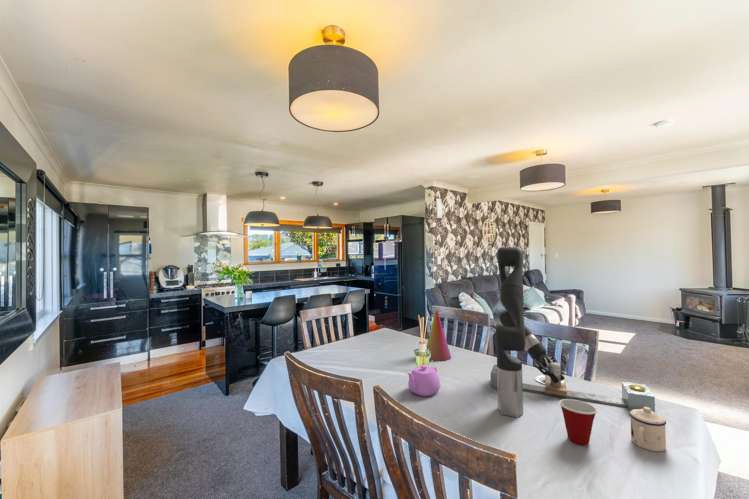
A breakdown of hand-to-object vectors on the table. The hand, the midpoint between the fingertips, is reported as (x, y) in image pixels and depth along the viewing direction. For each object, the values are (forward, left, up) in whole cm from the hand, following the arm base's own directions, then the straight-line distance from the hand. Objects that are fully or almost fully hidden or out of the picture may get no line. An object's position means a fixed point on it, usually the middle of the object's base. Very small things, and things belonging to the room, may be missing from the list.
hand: (560, 380), depth 142 cm
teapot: (-22, +55, -6) cm, 60 cm away
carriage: (+1, +2, -5) cm, 5 cm away
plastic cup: (-36, -4, -6) cm, 37 cm away
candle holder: (+15, +4, -7) cm, 17 cm away
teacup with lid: (-30, -23, -6) cm, 38 cm away
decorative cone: (+28, +63, -6) cm, 69 cm away
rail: (+1, -2, -6) cm, 6 cm away
